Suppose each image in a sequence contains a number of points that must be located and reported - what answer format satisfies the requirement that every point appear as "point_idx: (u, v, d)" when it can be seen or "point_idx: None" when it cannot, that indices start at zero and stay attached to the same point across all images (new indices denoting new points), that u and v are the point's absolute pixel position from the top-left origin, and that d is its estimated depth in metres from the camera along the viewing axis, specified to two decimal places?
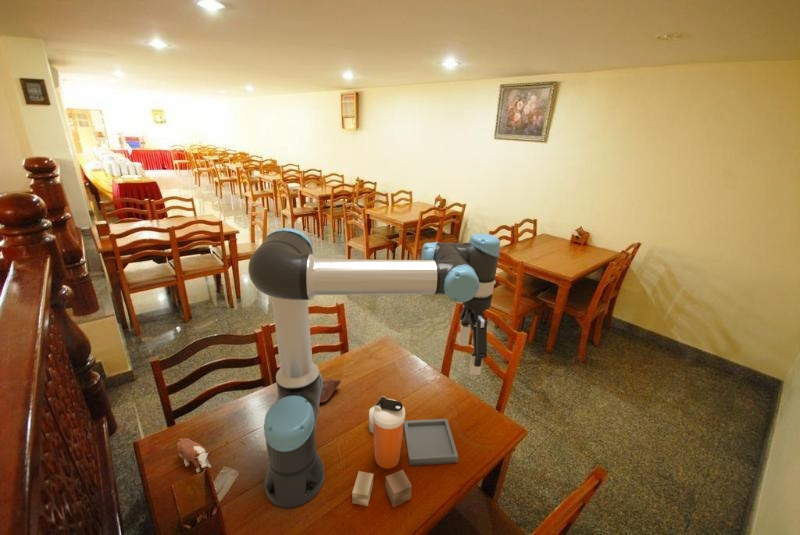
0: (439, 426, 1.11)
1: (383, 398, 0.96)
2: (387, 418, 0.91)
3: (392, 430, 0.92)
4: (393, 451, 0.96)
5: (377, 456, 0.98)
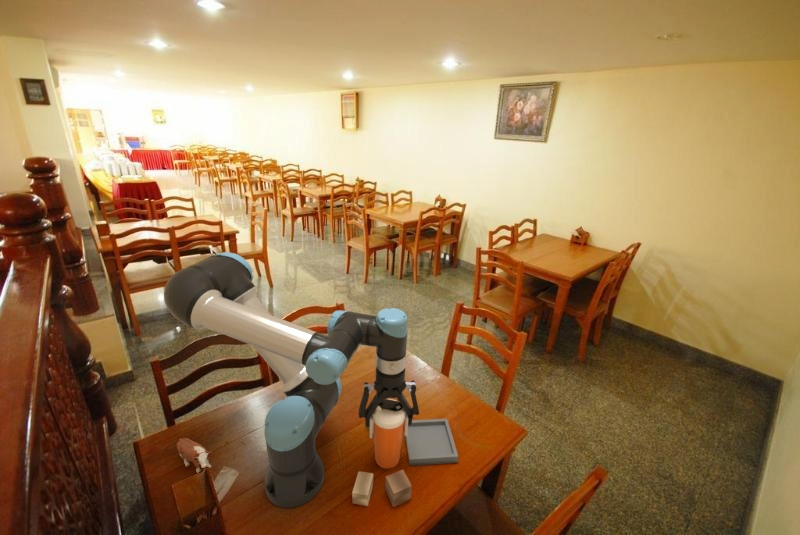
0: (439, 426, 1.11)
1: None
2: (387, 418, 0.91)
3: (392, 430, 0.92)
4: (393, 451, 0.96)
5: (377, 456, 0.98)
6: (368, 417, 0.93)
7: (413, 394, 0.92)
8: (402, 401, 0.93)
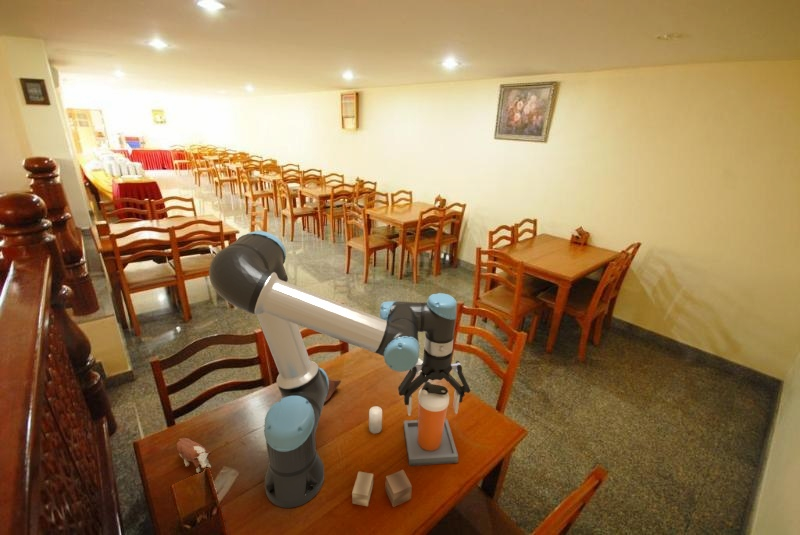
0: None
1: (428, 383, 1.01)
2: (433, 401, 0.96)
3: (438, 412, 0.97)
4: (437, 433, 1.00)
5: (421, 439, 1.02)
6: (408, 395, 0.97)
7: (460, 374, 0.96)
8: (451, 381, 0.97)
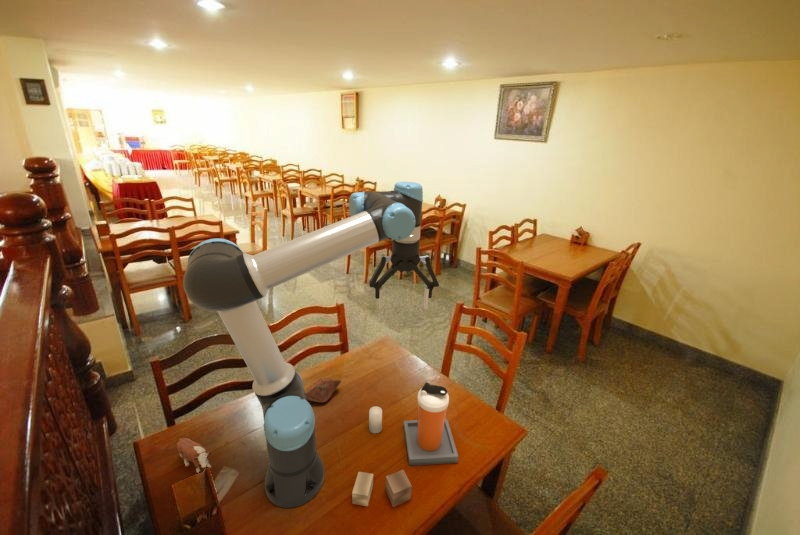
0: None
1: (427, 383, 1.00)
2: (433, 402, 0.96)
3: (437, 413, 0.97)
4: (437, 434, 1.00)
5: (421, 439, 1.02)
6: (378, 287, 1.00)
7: (428, 265, 1.00)
8: (419, 273, 1.00)
